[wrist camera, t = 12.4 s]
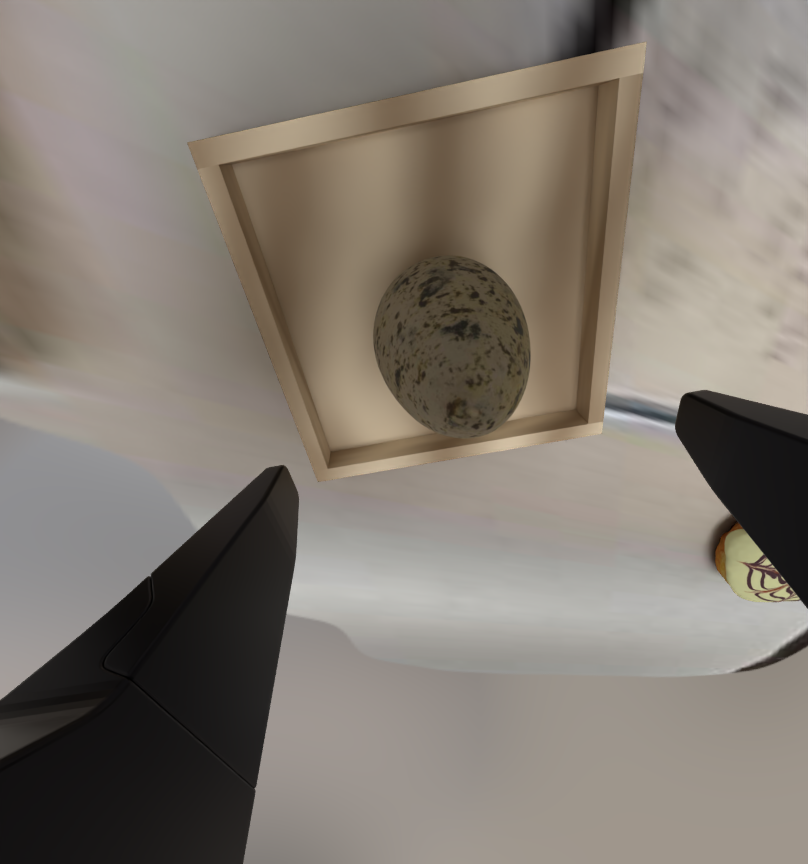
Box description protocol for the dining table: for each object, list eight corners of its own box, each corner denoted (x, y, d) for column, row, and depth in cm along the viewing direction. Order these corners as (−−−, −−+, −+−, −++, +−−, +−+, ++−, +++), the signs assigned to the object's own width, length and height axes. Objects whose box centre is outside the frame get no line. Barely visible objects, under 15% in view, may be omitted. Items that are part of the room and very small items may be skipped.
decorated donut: (685, 528, 31) (720, 569, 28) (841, 449, 27) (901, 486, 24) (728, 589, 35) (762, 630, 32) (867, 528, 32) (920, 568, 29)
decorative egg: (446, 385, 22) (487, 520, 14) (351, 325, 20) (330, 441, 12) (522, 291, 19) (630, 388, 11) (422, 211, 17) (462, 256, 9)
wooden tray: (612, 57, 16) (646, 41, 14) (583, 411, 24) (601, 433, 22) (210, 145, 16) (187, 142, 14) (322, 456, 25) (318, 482, 23)
